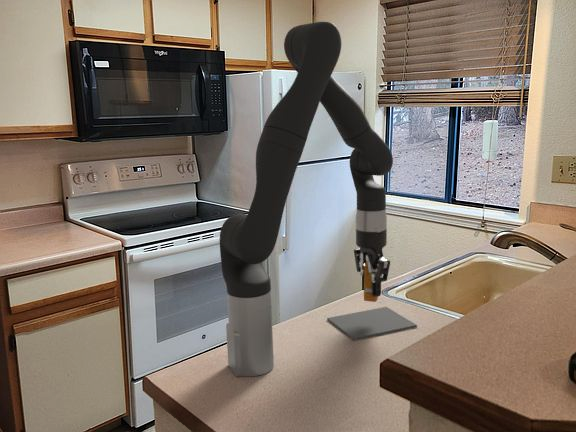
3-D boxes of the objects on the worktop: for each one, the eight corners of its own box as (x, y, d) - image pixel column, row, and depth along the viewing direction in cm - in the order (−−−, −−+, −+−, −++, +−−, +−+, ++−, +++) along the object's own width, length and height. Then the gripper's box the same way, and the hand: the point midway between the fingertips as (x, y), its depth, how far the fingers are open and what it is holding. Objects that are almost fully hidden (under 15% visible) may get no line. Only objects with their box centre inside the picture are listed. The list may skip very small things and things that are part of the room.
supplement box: (377, 302, 132) (377, 263, 130) (363, 301, 133) (363, 262, 131) (379, 297, 135) (379, 260, 133) (366, 296, 136) (365, 259, 134)
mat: (353, 340, 126) (353, 338, 125) (327, 320, 138) (327, 317, 138) (416, 327, 132) (416, 324, 132) (386, 308, 145) (386, 306, 145)
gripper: (343, 223, 135) (344, 287, 139) (373, 234, 122) (373, 304, 126) (369, 220, 138) (369, 282, 141) (400, 230, 125) (400, 299, 129)
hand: (371, 292), depth 134 cm, fingers closed on supplement box, 4 cm apart
